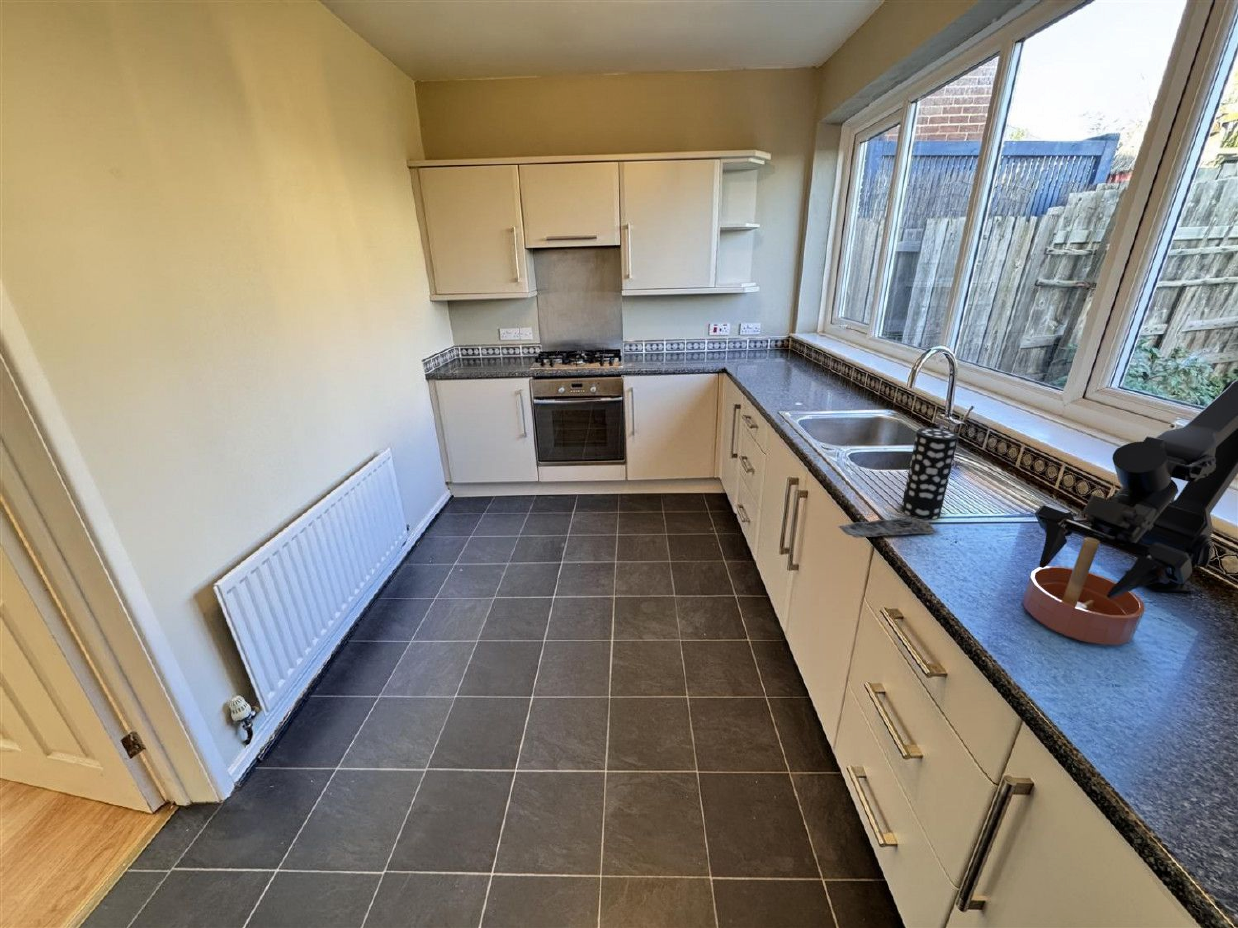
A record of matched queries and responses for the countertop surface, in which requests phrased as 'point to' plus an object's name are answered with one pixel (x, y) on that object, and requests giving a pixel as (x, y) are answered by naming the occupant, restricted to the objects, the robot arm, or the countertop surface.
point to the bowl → (1093, 625)
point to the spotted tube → (929, 472)
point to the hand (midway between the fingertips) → (1073, 581)
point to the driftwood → (888, 527)
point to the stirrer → (1081, 573)
